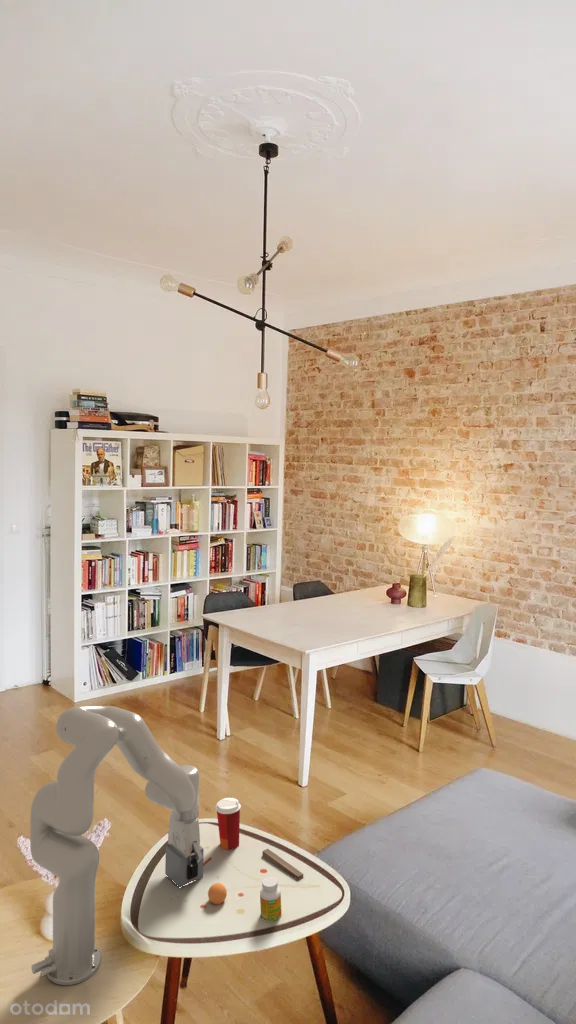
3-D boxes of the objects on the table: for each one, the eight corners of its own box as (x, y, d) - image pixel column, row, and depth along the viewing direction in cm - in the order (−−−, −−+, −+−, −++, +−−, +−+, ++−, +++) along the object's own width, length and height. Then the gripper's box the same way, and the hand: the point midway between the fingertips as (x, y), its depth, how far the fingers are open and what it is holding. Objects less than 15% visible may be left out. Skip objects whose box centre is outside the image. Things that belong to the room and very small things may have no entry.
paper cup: (244, 839, 212) (242, 796, 211) (240, 854, 205) (238, 810, 203) (219, 839, 213) (217, 796, 212) (214, 853, 206) (212, 809, 204)
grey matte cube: (179, 888, 188) (180, 858, 187) (165, 875, 194) (165, 845, 193) (202, 878, 193) (203, 848, 192) (188, 865, 199) (188, 836, 198)
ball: (214, 910, 179) (215, 892, 179) (204, 901, 183) (204, 883, 183) (230, 903, 183) (230, 885, 182) (219, 893, 186) (219, 876, 186)
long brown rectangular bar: (297, 885, 191) (298, 876, 191) (262, 858, 203) (262, 850, 203) (303, 882, 193) (303, 873, 192) (267, 856, 205) (267, 848, 204)
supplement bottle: (267, 927, 174) (266, 891, 173) (257, 915, 178) (255, 880, 177) (285, 918, 177) (284, 883, 176) (274, 907, 181) (273, 872, 180)
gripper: (157, 802, 196) (157, 861, 197) (190, 828, 183) (189, 890, 184) (180, 795, 201) (179, 851, 202) (213, 819, 188) (212, 880, 189)
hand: (184, 870), depth 193 cm, fingers closed on grey matte cube, 7 cm apart
